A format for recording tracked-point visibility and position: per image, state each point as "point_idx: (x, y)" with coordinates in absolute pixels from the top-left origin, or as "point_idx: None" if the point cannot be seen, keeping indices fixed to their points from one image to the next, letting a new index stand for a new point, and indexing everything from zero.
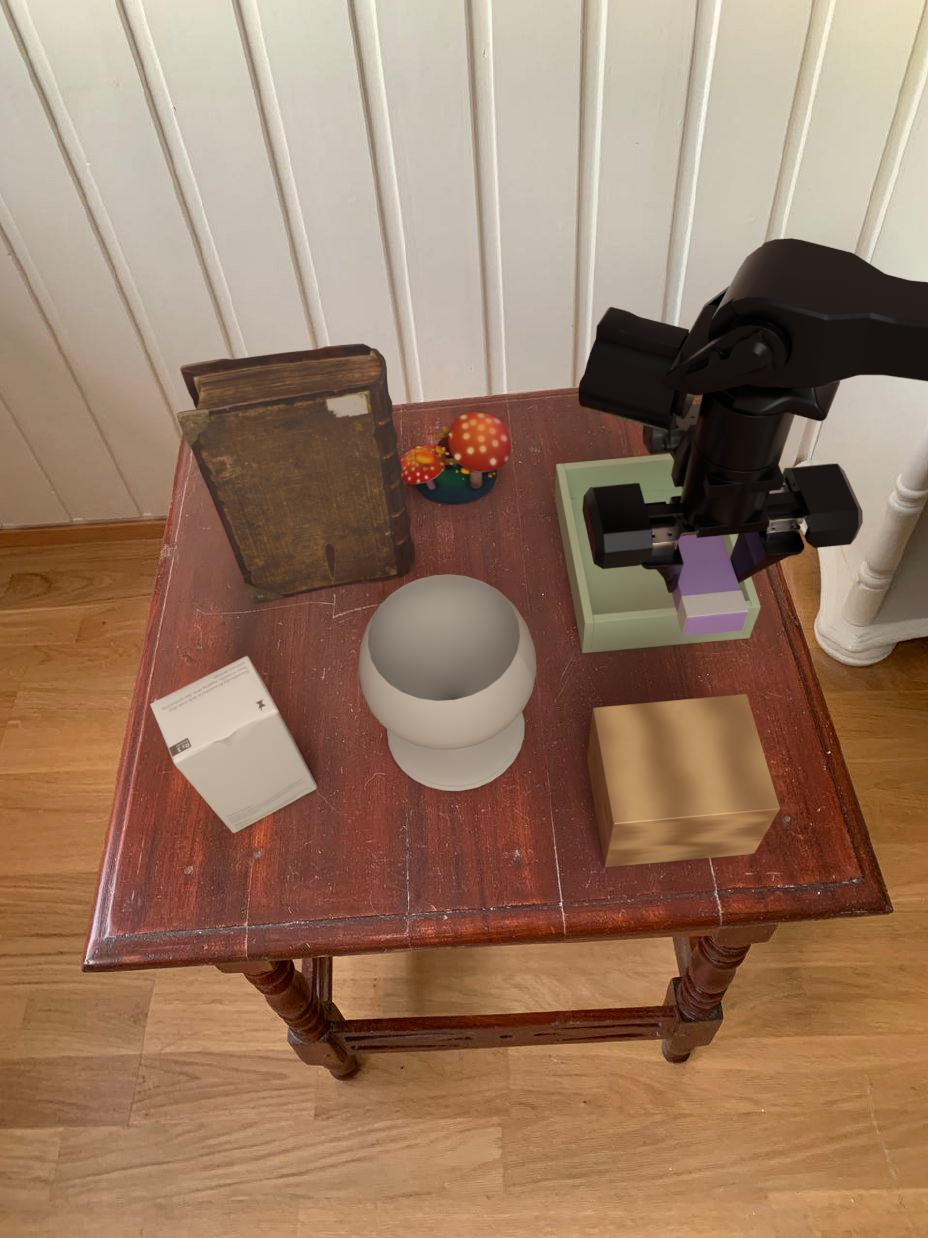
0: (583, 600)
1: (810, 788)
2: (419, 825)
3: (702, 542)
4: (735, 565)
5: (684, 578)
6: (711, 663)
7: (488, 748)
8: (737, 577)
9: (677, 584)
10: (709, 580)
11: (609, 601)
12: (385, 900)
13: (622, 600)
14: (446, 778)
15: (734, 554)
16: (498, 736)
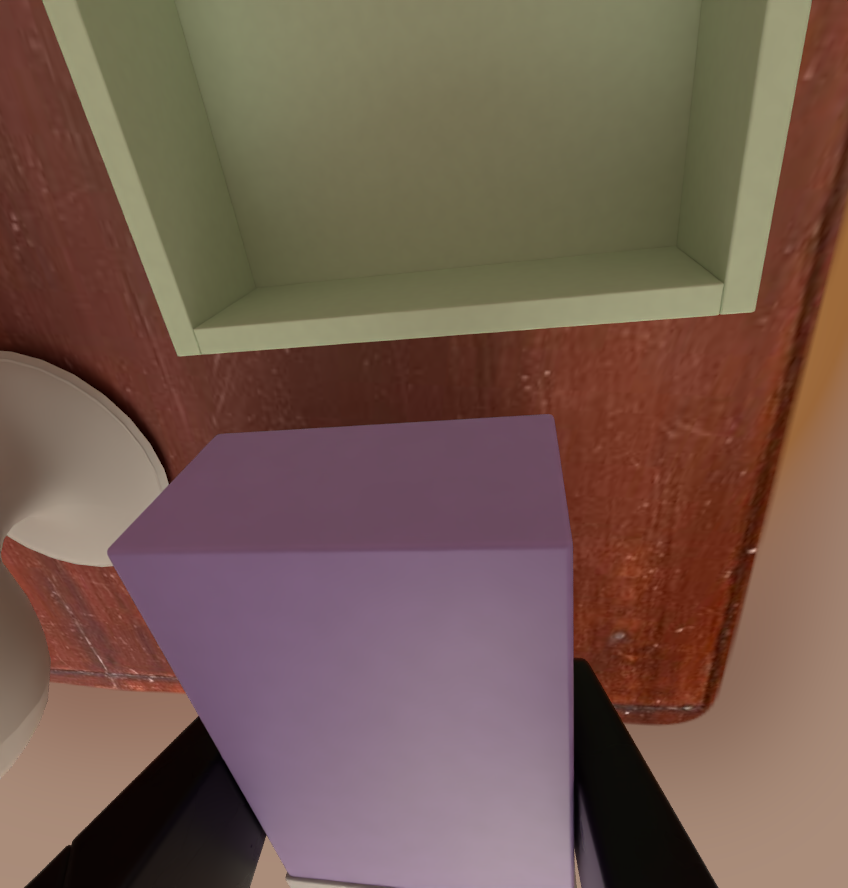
0: (152, 273)
1: (682, 601)
2: (73, 593)
3: (406, 683)
4: (584, 863)
5: (294, 829)
6: (564, 342)
7: (114, 523)
8: (579, 870)
9: (262, 843)
10: (422, 853)
11: (292, 133)
12: (76, 659)
13: (331, 127)
14: (71, 557)
15: (593, 875)
16: (122, 505)
